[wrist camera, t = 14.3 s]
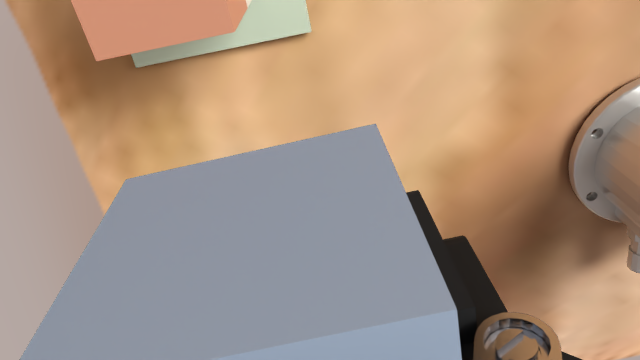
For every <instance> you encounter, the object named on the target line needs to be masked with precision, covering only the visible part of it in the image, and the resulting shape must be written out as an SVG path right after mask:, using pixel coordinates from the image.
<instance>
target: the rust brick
mask: <svg viewBox="0 0 640 360" xmlns="http://www.w3.org/2000/svg"><path fill="white" fill-rule="evenodd" d="M71 2H72V5H73V7H74V9H75V12H76V14H77V16H78V19H79V21H80V24H81V26H82V28H83V31H84V33H85V36H86V38H87V40H88V43H89V45H90V47H91V50H92V52H93V55H94V57H95V59H96V61H100V60H105V59H110V58H114V57H119V56H124V55H129V54H133V53H138V52H143V51H148V50H152V49H157V48H162V47H166V46H171V45H176V44H181V43H185V42H190V41H195V40H200V39H204V38H209V37H214V36H219V35H223V34H228V33H233V32H235V31H236V29H237V27H238V25H239V23H240V21H241V20H242V18H243V16H244V14H245V12H246V10H247V9H248V8H247V4H246V0H71Z"/></svg>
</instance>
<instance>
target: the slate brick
mask: <svg viewBox="0 0 640 360" xmlns="http://www.w3.org/2000/svg"><path fill="white" fill-rule="evenodd" d="M20 360H462V355H461V345H460V335H459V325H458V315H457V308H456V306H455V304H454V302H453V299H452V297H451V295H450V292H449V290H448V288H447V286H446V283H445V281H444V279H443V276H442V274H441V272H440V270H439V267H438V265H437V263H436V260H435V258H434V256H433V254H432V251H431V249H430V247H429V244H428V242H427V240H426V238H425V235H424V233H423V231H422V228H421V226H420V224H419V222H418V219H417V217H416V215H415V212H414V210H413V208H412V206H411V203H410V201H409V199H408V196H407V194H406V192H405V190H404V187H403V185H402V183H401V180H400V178H399V176H398V174H397V171H396V169H395V167H394V164H393V162H392V160H391V158H390V155H389V153H388V151H387V148H386V146H385V144H384V142H383V139H382V137H381V135H380V132H379V130H378V128H377V126H376V124H372V125H368V126H363V127H359V128H354V129H350V130H345V131H341V132H337V133H332V134H328V135H323V136H319V137H314V138H310V139H305V140H301V141H296V142H292V143H287V144H283V145H278V146H274V147H269V148H265V149H260V150H256V151H251V152H247V153H242V154H238V155H233V156H229V157H224V158H220V159H215V160H211V161H206V162H202V163H197V164H193V165H188V166H184V167H179V168H175V169H170V170H166V171H161V172H157V173H153V174H148V175H144V176H139V177H135V178H130V179H126V180H125V182H124V184H123V185H122V187H121V189H120V190H119V192H118V194H117V195H116V197H115V199H114V201H113V202H112V204H111V206H110V207H109V209H108V211H107V212H106V214H105V216H104V217H103V219H102V221H101V223H100V225H99V226H98V228H97V229H96V231H95V233H94V234H93V236H92V238H91V240H90V241H89V243H88V245H87V246H86V248H85V250H84V251H83V253H82V255H81V256H80V258H79V260H78V262H77V263H76V265H75V267H74V268H73V270H72V272H71V273H70V275H69V277H68V279H67V280H66V282H65V284H64V286H63V287H62V289H61V290H60V292H59V294H58V295H57V297H56V299H55V301H54V302H53V304H52V306H51V307H50V309H49V311H48V313H47V314H46V316H45V318H44V319H43V321H42V323H41V324H40V326H39V328H38V329H37V331H36V333H35V334H34V336H33V338H32V340H31V341H30V343H29V345H28V346H27V348H26V350H25V351H24V353H23V355H22V356H21V358H20Z"/></svg>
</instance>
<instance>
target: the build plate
mask: <svg viewBox="0 0 640 360" xmlns="http://www.w3.org/2000/svg"><path fill="white" fill-rule="evenodd" d="M308 32H311V26H310V21H309V16H308V10H307V5H306V0H252V1H251V3H250V5H249V6H248V9H247V10H246V12H245V14H244V16H243V18H242V20H241V21H240V23H239V25H238V27H237V29H236V31H235V32H233V33H228V34H223V35H219V36H214V37H209V38H204V39H200V40H195V41H190V42H185V43H181V44H176V45H171V46H166V47H162V48H157V49H152V50H148V51H143V52H138V53H133V54H131V56H132V59H133V61H134V64H135V67H136V68H138V67H142V66H147V65H152V64H157V63H162V62H167V61H172V60H176V59H181V58H186V57H191V56H196V55H201V54H206V53H211V52H215V51H220V50H225V49H230V48H235V47H240V46H245V45H249V44H254V43H259V42H264V41H269V40H274V39H279V38H283V37H288V36H293V35H298V34H303V33H308Z"/></svg>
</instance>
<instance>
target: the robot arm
mask: <svg viewBox="0 0 640 360" xmlns="http://www.w3.org/2000/svg"><path fill="white" fill-rule="evenodd" d="M568 166H569V179H570V182H571V186H572V189H573V191H574V192H575V194H576V195H577V197H578V199H579V200H580V201H581V202H582V203H583V204H584V205H585V206H586V207H587V208H588V209H589V210H591V211H592V212H593V213H595V214H596V215H598V216H600V217H602V218H605V219H607V220H610V221H615V222H620V223H624V224H625V225H626V226H627V227H628V228H627V235H628V236H629V238H631V245H630V246H629V251H628V258H627V267H628V268H629V269H630V270H632V271H634V272H636V273H640V78H638V79H636V80H634V81H632V82H630V83H628V84H626V85H624V86H623V87H621V88H620V89H618V90H617V91H616V92H614V93H613V94H611V95H610V96H608V97H607V98H606V99H605V100H604V101H603V102H602V103H601V104H600V105H599V106H598V107H597V108H595V110H594V111H593V112H592V113H591V115H590V116H589V117H588V118H587V120H586V121H585V122H584V124H583V125H582V127H581V129H580V131H579V132H578V134H577V136H576V138H575V141H574V143H573V146H572V149H571V152H570V158H569V164H568ZM406 194H407V196H408V199H409V201H410V203H411V206H412V208H413V210H414V212H415V215H416V217H417V219H418V222H419V224H420V226H421V228H422V231H423V233H424V235H425V238H426V240H427V242H428V244H429V247H430V249H431V251H432V254H433V256H434V258H435V260H436V263H437V265H438V267H439V270H440V272H441V274H442V276H443V279H444V281H445V283H446V286H447V288H448V290H449V292H450V295H451V297H452V299H453V302H454V304H455V306H456V308H457V315H458V325H459V335H460V345H461V355H462V360H582V359H579V358H577V357H574V356H572V355H569V354H567V353H564V352H562V351H561V345H560V342H559V339H558V336H557V335H556V334H555V332H554V331H553V330H552V328H551V327H550V326H548V325H547V324H546V323H544V322H543V321H542V320H540V319H538V318H535V317H533V316H531V315H528V314H523V313H517V312H508V311H507V310H506V308H505V306H504V304H503V302H502V301H501V299H500V297H499V295H498V294H497V292H496V290H495V288H494V286H493V285H492V283H491V281H490V279H489V278H488V276H487V274H486V272H485V270H484V269H483V267H482V265H481V263H480V261H479V260H478V258H477V256H476V254H475V253H474V251H473V249H472V247H471V245H470V244H469V242H468V240H467V239H466V237H465V236H458V237H453V238H449V239H444V240H443V239H442V237H441V235H440V233H439V231H438V229H437V227H436V225H435V223H434V221H433V219H432V217H431V215H430V212H429V210H428V208H427V206H426V204H425V202H424V200H423V198H422V196H421V194H420V192H419V191H418V190H417V191H412V192H407V193H406Z"/></svg>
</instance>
